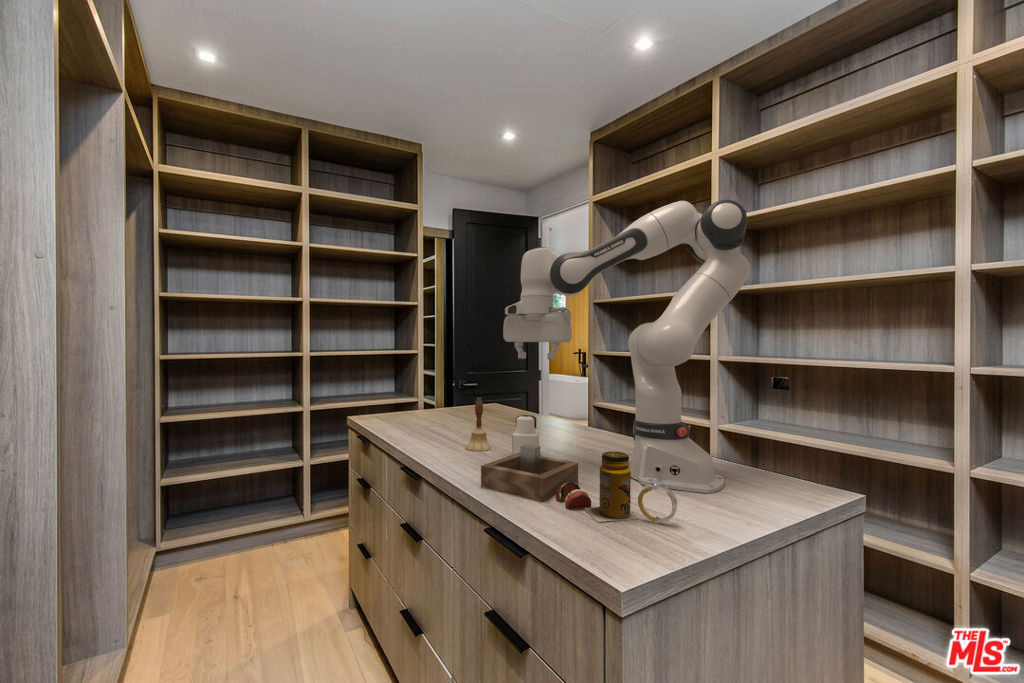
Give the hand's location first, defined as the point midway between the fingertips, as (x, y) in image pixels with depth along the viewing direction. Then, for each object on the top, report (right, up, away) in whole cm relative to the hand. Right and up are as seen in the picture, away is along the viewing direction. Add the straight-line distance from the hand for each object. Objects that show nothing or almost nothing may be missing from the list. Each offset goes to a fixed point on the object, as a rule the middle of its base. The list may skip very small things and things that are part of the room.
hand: (536, 359), depth 130 cm
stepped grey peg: (-2, -29, -17) cm, 33 cm away
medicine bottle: (-2, -29, +11) cm, 31 cm away
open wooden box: (-2, -29, -17) cm, 34 cm away
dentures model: (+6, -30, -29) cm, 42 cm away
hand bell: (-17, -29, +21) cm, 40 cm away
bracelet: (+21, -30, -39) cm, 53 cm away
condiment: (+13, -30, -35) cm, 48 cm away
